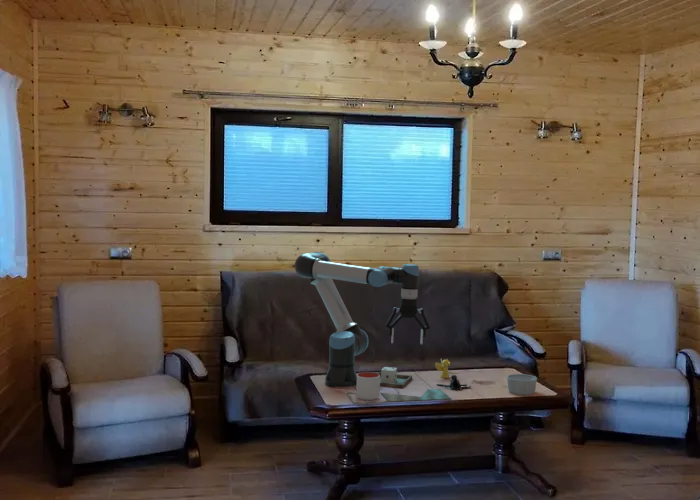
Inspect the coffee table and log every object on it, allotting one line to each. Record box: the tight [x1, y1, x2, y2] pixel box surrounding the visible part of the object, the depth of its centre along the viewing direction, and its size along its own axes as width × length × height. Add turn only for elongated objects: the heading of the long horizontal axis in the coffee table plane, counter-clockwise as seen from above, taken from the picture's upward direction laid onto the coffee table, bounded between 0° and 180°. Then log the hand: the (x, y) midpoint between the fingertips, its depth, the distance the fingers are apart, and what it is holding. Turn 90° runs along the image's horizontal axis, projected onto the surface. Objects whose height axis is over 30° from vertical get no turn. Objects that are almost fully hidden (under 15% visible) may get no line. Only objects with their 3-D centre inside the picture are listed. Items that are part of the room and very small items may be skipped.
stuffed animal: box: [436, 374, 472, 391], centre depth 327 cm, size 12×10×12 cm
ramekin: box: [506, 373, 538, 396], centre depth 320 cm, size 13×13×7 cm
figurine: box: [434, 358, 460, 379], centre depth 344 cm, size 12×12×9 cm
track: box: [345, 388, 452, 405], centre depth 310 cm, size 43×16×1 cm, turn 101°
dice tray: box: [375, 371, 413, 389], centre depth 334 cm, size 18×18×2 cm
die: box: [380, 366, 398, 383], centre depth 333 cm, size 6×6×6 cm
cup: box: [355, 371, 381, 401], centre depth 307 cm, size 10×10×10 cm
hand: (406, 343), depth 331 cm, fingers open, 13 cm apart
